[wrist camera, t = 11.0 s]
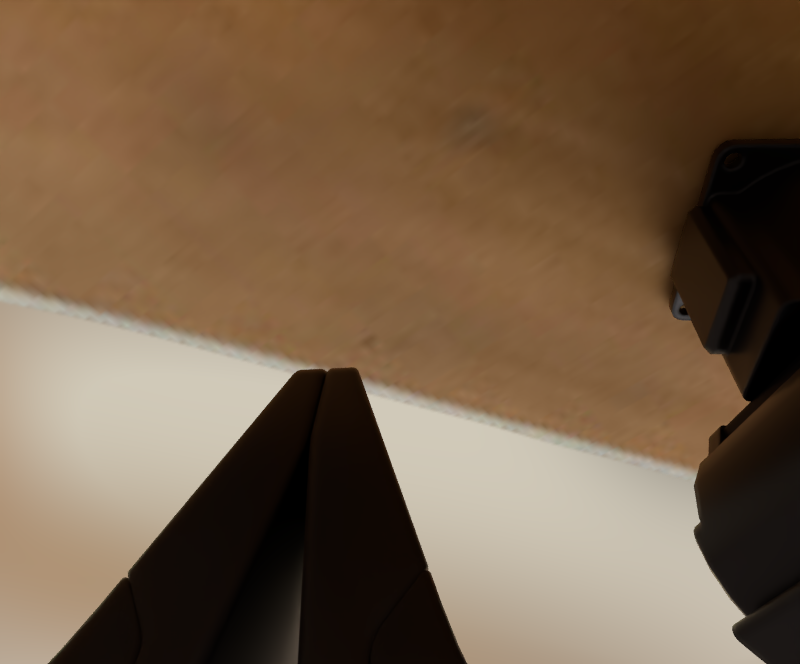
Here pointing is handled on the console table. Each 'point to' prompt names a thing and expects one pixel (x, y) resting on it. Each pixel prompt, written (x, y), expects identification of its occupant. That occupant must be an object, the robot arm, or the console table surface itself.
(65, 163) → the console table surface
